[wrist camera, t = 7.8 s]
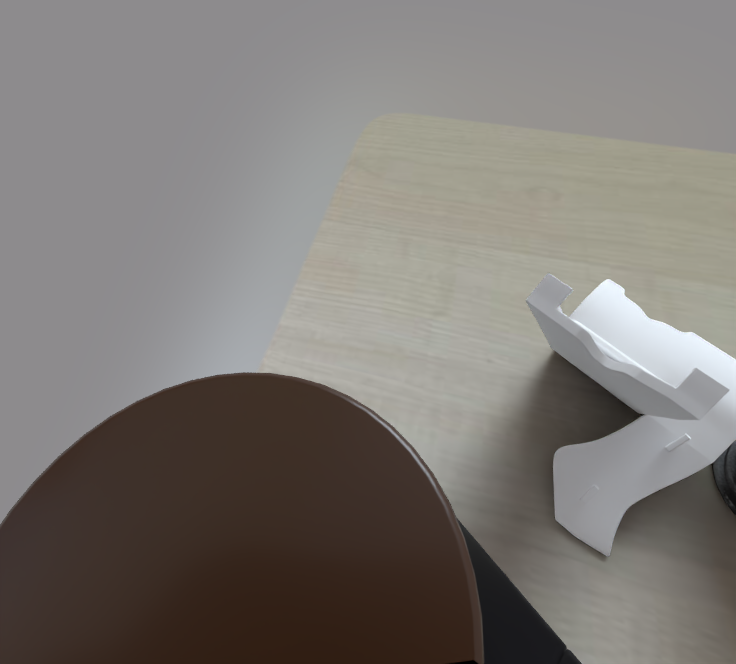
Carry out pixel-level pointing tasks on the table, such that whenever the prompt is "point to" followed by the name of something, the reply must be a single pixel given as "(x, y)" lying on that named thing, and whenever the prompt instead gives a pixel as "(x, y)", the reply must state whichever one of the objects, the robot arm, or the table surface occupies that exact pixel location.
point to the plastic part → (634, 405)
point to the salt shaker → (727, 475)
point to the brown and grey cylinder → (238, 538)
